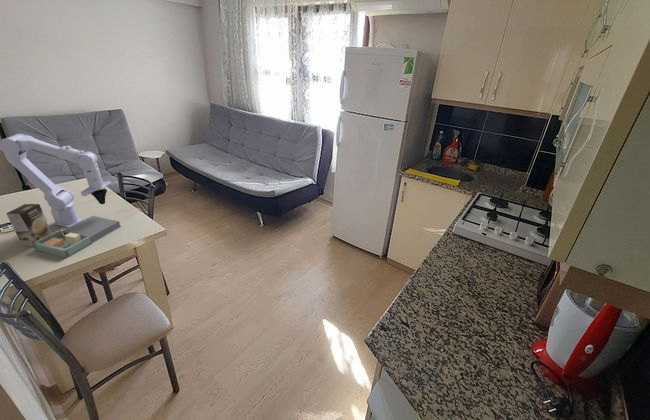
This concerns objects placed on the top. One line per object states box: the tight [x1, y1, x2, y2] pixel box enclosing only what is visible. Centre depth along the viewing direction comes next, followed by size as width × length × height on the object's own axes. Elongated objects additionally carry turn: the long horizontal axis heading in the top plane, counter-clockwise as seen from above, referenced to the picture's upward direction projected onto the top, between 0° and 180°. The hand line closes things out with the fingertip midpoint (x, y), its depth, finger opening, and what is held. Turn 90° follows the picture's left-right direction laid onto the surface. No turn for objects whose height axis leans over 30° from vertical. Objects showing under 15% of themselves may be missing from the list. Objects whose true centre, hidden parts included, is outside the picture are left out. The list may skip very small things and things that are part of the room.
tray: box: [33, 229, 93, 259], centre depth 127 cm, size 17×11×4 cm, turn 76°
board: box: [61, 215, 121, 244], centre depth 139 cm, size 16×15×3 cm
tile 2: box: [63, 233, 81, 246], centre depth 127 cm, size 5×5×2 cm
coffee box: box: [6, 203, 53, 247], centre depth 127 cm, size 9×6×16 cm
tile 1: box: [44, 238, 65, 247], centre depth 126 cm, size 5×5×2 cm
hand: (102, 203), depth 145 cm, fingers closed
